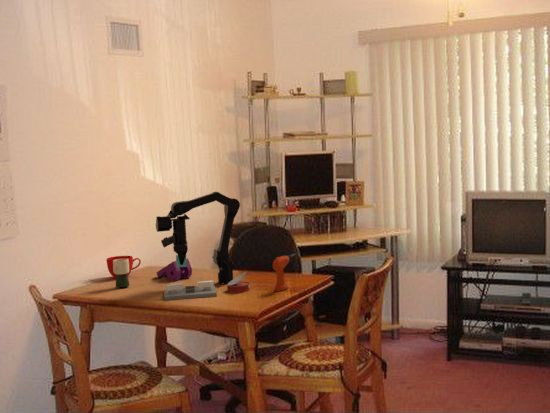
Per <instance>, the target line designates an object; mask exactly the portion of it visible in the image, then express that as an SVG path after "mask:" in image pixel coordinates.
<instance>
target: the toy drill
mask: <svg viewBox="0 0 550 413" xmlns="http://www.w3.org/2000/svg"><path fill="white" fill-rule="evenodd" d="M296 254H297V253H295V252H294V253H292V254H288V255H287V254H286V255H281V256H277V257H276V258H275V259H274V260H273V262H272V268H273V270H274V271H275V273H276V284H275V286H274V288H273V289H274V291H275V292H282V291H281V290H284V291H286V290H285V289H287V290H289V286H290V285H288V284H286V281H285V272H284V269H285V267H286V266H287V265H288V264H289V262H290V261H291V260H292V257H294V256H296Z"/></svg>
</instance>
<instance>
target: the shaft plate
mask: <svg viewBox="0 0 550 413" xmlns="http://www.w3.org/2000/svg"><path fill="white" fill-rule="evenodd" d="M196 283H197V286H196V285H189V286H187V285H185V287H184V284H183V283H182V282H178V283H172V284H171V283H170V284H166V285H165V289H164V295H163V296H164V297H163V299H164V301H172V300H184V299H186V300H187V299H199V298H207V297H208V298H212V297H213V298H214V297H217V296H218V295H217V290H216V286H215V283H214V280H205V281H204V280H203V281H197V282H196Z"/></svg>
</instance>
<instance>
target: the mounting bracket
mask: <svg viewBox="0 0 550 413" xmlns="http://www.w3.org/2000/svg"><path fill="white" fill-rule="evenodd" d="M186 259H187V267H177V264H176V260H175V261H171V263H169V264H167V265H165V266H164V267H163V268H161V269H160V270H158V271H156V275H157V278H162V277H163V278H164V277H166V276H167V278H168V280H170V281H171V280H173V281H172V282H175V281H179V280H180V279H188V277H189V278H191V277H192V274H193V269H192V266H191V263H190V260H189V258H186Z"/></svg>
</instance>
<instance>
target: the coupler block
mask: <svg viewBox="0 0 550 413" xmlns="http://www.w3.org/2000/svg"><path fill="white" fill-rule="evenodd" d="M187 259H188V258H187V255H186V256H185V259H184V263H183V265H180V261H179V257H178V254H176V255H175V261H176V264H177V267H187Z"/></svg>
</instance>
